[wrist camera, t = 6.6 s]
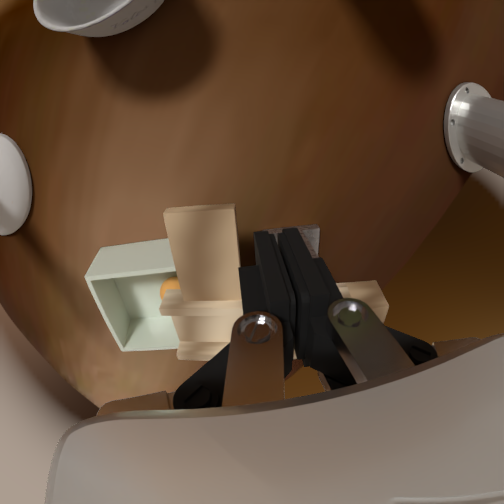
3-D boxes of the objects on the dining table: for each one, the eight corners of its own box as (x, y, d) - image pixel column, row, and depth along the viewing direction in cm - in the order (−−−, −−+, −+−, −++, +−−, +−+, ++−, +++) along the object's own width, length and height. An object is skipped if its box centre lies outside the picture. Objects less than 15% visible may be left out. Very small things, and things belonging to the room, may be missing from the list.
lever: (392, 197, 20) (412, 217, 17) (361, 332, 27) (369, 358, 25) (145, 207, 20) (127, 228, 17) (182, 340, 28) (176, 366, 25)
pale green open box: (214, 232, 29) (216, 261, 24) (226, 310, 35) (229, 343, 30) (100, 247, 28) (84, 276, 23) (129, 319, 34) (121, 351, 29)
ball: (182, 291, 27) (151, 289, 27) (188, 316, 29) (159, 313, 29) (192, 271, 30) (163, 269, 30) (197, 295, 32) (170, 293, 32)
